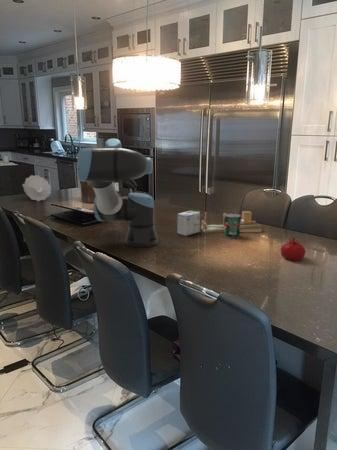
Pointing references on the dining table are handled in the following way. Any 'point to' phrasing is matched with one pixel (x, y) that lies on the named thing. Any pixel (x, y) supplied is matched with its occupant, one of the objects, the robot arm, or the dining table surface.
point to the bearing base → (220, 228)
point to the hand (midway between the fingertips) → (118, 197)
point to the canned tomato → (232, 226)
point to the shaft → (246, 218)
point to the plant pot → (87, 192)
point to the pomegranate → (293, 250)
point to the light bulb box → (188, 222)
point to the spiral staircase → (37, 188)
